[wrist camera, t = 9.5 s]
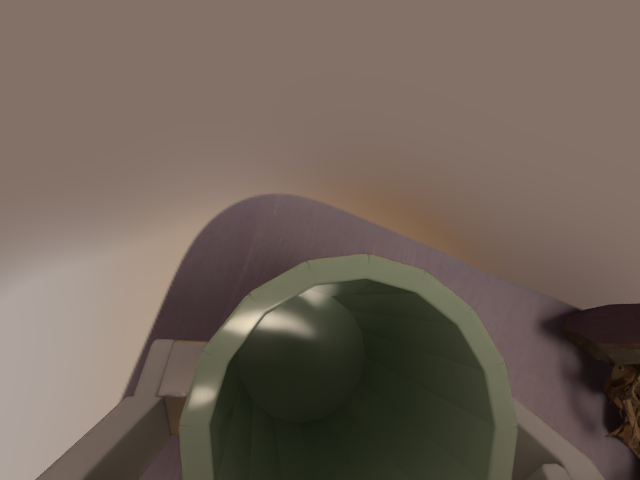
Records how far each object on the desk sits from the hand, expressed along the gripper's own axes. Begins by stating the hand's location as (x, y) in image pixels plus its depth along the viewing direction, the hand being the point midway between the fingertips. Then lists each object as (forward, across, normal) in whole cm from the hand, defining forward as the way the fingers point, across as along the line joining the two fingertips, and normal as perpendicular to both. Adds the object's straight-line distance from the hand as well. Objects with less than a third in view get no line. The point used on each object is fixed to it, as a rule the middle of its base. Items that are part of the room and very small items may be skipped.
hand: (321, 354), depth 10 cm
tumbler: (+3, 0, +4) cm, 5 cm away
